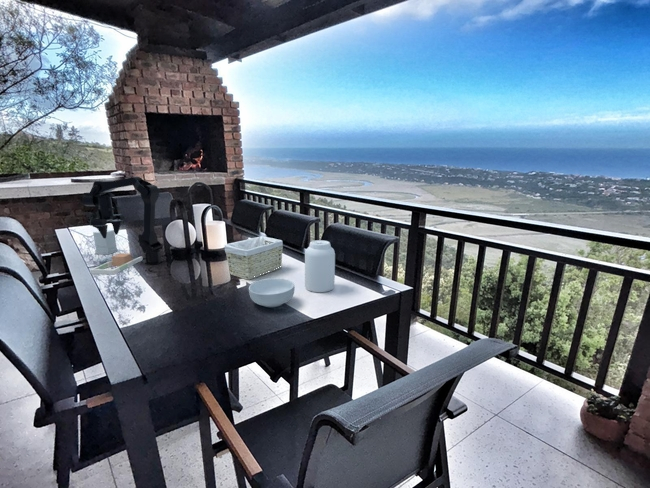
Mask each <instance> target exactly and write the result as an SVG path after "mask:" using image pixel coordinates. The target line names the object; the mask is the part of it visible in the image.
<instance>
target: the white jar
mask: <svg viewBox="0 0 650 488" xmlns="http://www.w3.org/2000/svg"><path fill="white" fill-rule="evenodd" d="M335 271H336V253H335V249H334V248H333V247H332V246H331V242H330V241H328V240H323V239H322V240H321V239H319V240H318V239H317V240H312V241H310V242H309V246H308V247H307V248H306V249H305V252H304V287H305V289H306V290H307V291H310V292H313V293H327V292H330V291H332V290H334V288H335V277H336V276H335V273H336V272H335Z"/></svg>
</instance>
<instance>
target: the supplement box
mask: <svg viewBox="0 0 650 488" xmlns="http://www.w3.org/2000/svg"><path fill="white" fill-rule="evenodd" d="M92 234H93V238H94V245H95V246H94V247H95V252H96V255H110V254H114V253H116V252H118V247H117V241H116V235H115V232H114V229H107V236H106V238H103V237H102V235H101V233H100V232H99V230H97V231H93V232H92Z"/></svg>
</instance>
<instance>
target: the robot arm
mask: <svg viewBox="0 0 650 488" xmlns="http://www.w3.org/2000/svg"><path fill="white" fill-rule="evenodd" d="M131 186H133V187H134V190H136V191H137V192H138V193H140V197H141V200H142V203H143V231H142V232H141V233H139V234H138V241H137V243H138V244H139V246H140V248H141V249H142V252H143V253H144V254H145V255H144V256H145V263H144V265H158V264H159V265H160V263H163V262H164V259H162V251H161V250H162V249H163V246H164V245H163V244H162V243H161V242H160V241H159V240H158V235H157V234H156V231H155V218H156V217H155V216H156V215H155V213H156V203H157V201H158V199H159V195H160V188H159V187H158V186H157V185H155V184H152V183H151V182H149V181H146V179H145V180H144V179H143V178H142V177H140V176H130V177H127V178H121V179H116V180H95V181H94V182H93V184H92V187H91V189H90V191H89V192H84V193H83V196H82V197H81V203H82V205H83V206H86V207H98V208H97V209H96V211H95V212H92V211H89V212H86V218H87V219H88V220H90V221H89V226H90V227H93V228H95V229H97V231H99V232H100V233H101V235H102V237H103V238H106V236H107V230H108V225H109V224H107V223H108V222H109V223H110V224H111V225H112V230H114V233H115V236H116V235H118V234H119V231H120V229H121V226H122V224H123V222H124V220H125V218H126V217H125V215H124V214H122V213H121V214H120V213H119V214H118V213H117V214H116V213H115V214H114V210H116V209H115V207H113V203H112V198H114V197H115V194H113V193H112V191H114V190H115V189H118V188H119V189H120V188H126V187H131Z"/></svg>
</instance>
